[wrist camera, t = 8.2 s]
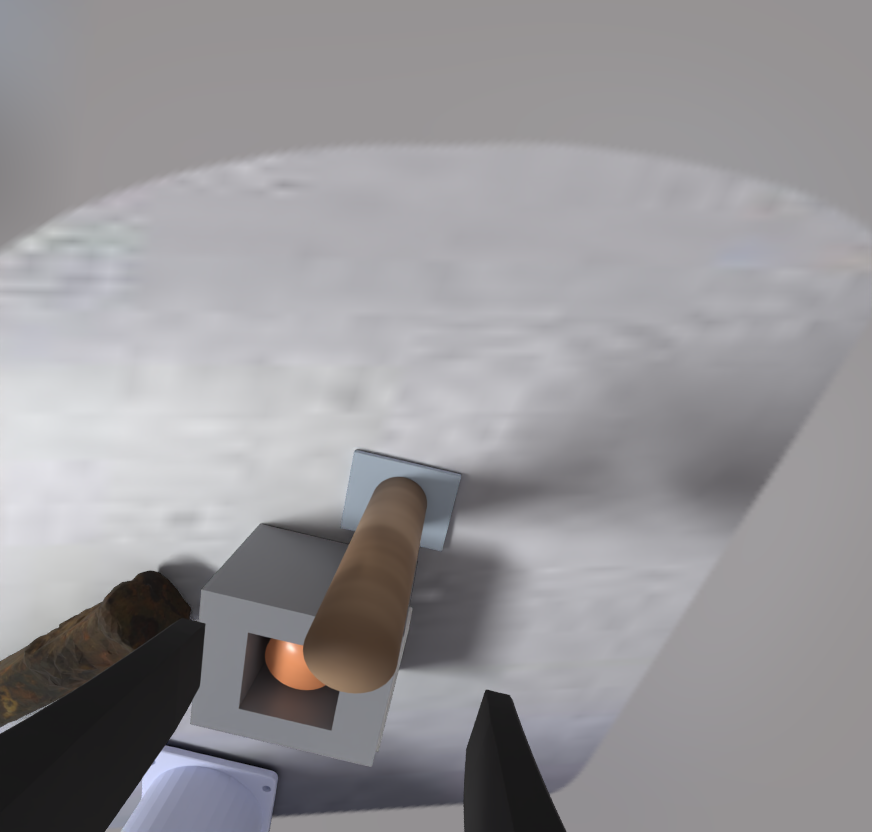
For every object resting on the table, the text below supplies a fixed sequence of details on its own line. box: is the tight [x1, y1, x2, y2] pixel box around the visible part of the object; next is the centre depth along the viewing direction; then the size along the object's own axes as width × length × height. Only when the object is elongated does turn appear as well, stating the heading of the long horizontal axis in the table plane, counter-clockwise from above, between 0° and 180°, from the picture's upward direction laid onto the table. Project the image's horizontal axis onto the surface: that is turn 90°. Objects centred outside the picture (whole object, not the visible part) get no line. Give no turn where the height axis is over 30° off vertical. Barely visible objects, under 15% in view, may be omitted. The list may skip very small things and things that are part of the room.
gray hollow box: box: [190, 524, 418, 767], centre depth 20 cm, size 7×8×5 cm
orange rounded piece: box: [265, 638, 325, 690], centre depth 20 cm, size 3×3×2 cm
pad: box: [340, 450, 461, 552], centre depth 21 cm, size 4×5×1 cm
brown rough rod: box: [0, 571, 191, 727], centre depth 23 cm, size 19×4×5 cm, turn 118°
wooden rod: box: [303, 477, 427, 694], centre depth 16 cm, size 3×3×9 cm
